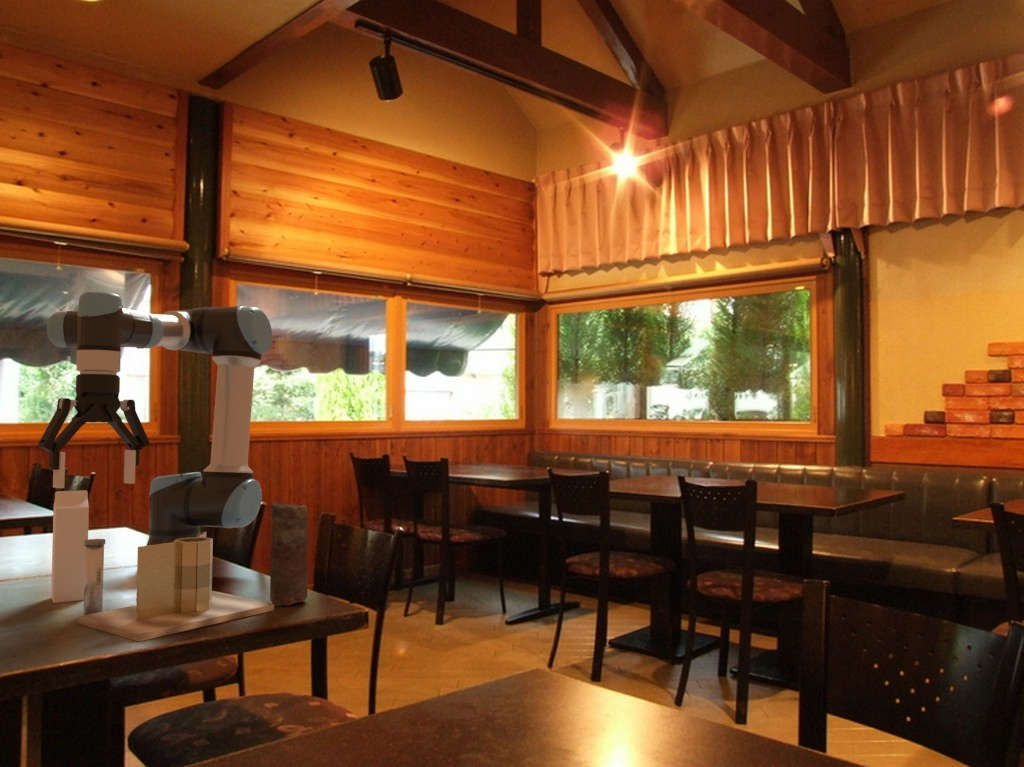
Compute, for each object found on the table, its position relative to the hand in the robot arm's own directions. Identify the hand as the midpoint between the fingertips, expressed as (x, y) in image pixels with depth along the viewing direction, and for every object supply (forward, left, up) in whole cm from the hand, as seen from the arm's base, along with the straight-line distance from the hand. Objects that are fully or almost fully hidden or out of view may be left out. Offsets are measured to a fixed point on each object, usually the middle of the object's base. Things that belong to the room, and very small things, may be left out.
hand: (95, 485), depth 159 cm
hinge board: (-9, +14, -24) cm, 30 cm away
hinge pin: (0, 0, -24) cm, 24 cm away
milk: (-4, -17, -25) cm, 30 cm away
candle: (-29, +21, -25) cm, 43 cm away
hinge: (-10, +13, -23) cm, 28 cm away
